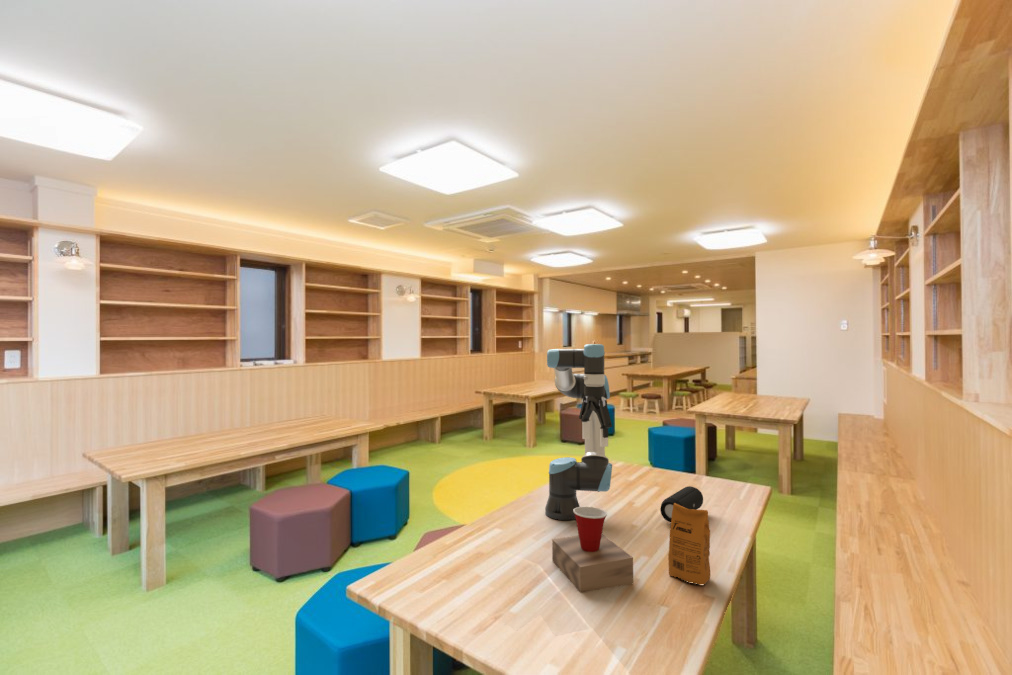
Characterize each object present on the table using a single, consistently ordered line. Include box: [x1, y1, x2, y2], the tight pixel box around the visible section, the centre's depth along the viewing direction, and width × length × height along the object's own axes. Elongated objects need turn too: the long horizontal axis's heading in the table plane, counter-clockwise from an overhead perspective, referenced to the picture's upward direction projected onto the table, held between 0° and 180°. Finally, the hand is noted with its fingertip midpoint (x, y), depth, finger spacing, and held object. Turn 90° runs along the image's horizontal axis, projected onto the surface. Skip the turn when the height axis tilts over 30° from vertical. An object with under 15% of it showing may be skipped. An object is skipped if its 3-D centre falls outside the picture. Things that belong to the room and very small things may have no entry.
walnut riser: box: [551, 533, 634, 593], centre depth 146 cm, size 20×18×8 cm
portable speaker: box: [659, 485, 704, 523], centre depth 194 cm, size 26×10×10 cm, turn 137°
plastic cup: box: [573, 506, 608, 552], centre depth 146 cm, size 11×11×12 cm
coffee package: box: [667, 503, 711, 585], centre depth 144 cm, size 10×12×22 cm
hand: (594, 442), depth 169 cm, fingers open, 13 cm apart
